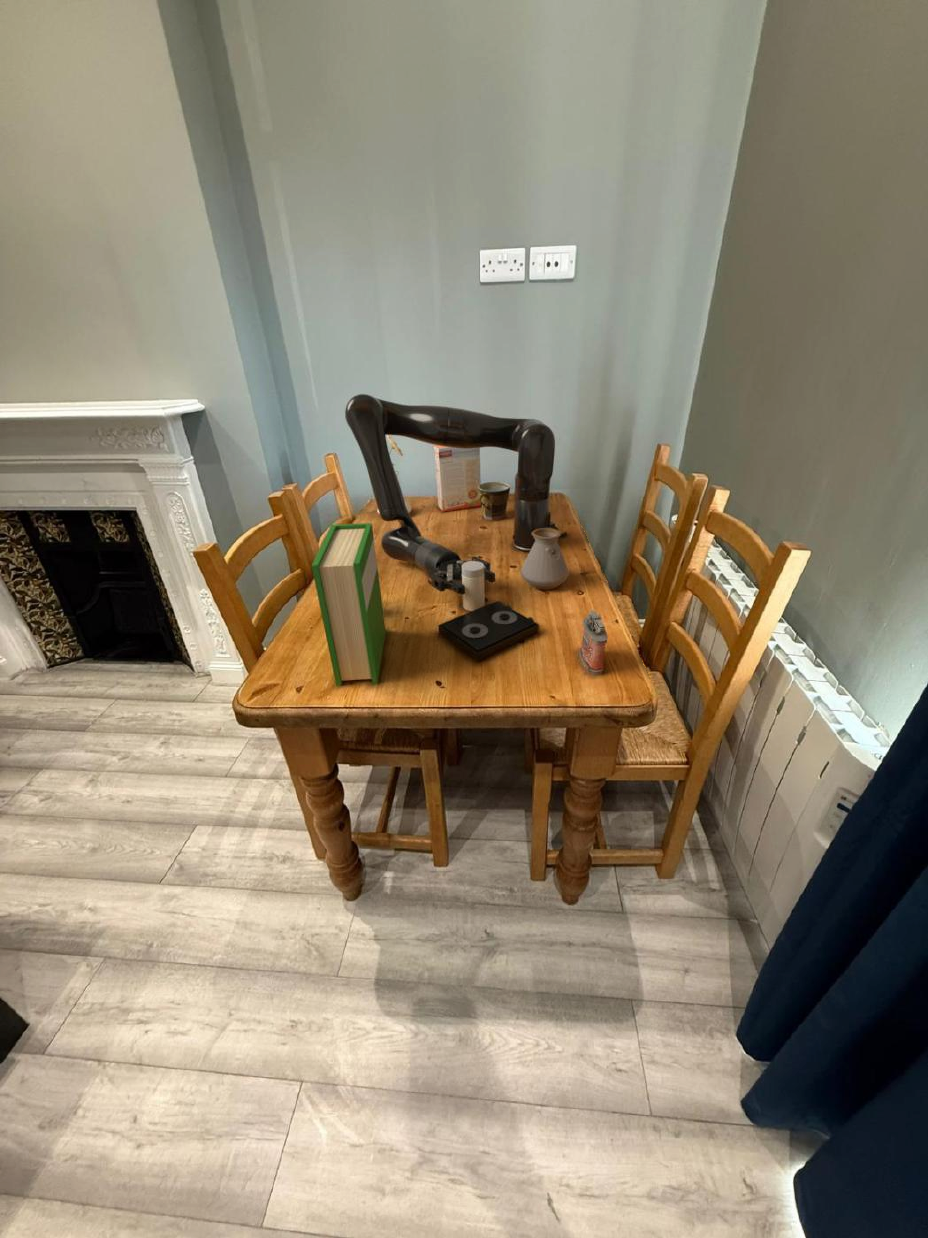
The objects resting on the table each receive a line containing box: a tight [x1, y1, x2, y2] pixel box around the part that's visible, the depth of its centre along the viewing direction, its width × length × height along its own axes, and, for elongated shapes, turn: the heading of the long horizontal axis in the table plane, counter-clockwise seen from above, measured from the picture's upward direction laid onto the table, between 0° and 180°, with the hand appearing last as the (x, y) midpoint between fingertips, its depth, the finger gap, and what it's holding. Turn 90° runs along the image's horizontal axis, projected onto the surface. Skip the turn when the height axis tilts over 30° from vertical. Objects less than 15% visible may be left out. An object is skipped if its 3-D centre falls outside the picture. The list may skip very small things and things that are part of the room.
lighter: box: [579, 610, 608, 676], centre depth 92 cm, size 8×3×10 cm, turn 5°
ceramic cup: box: [478, 481, 511, 521], centre depth 159 cm, size 13×10×10 cm
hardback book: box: [311, 522, 387, 687], centre depth 92 cm, size 18×7×24 cm, turn 3°
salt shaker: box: [461, 560, 486, 612], centre depth 112 cm, size 5×5×10 cm
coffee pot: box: [520, 528, 570, 590], centre depth 115 cm, size 21×12×15 cm, turn 177°
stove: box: [437, 600, 539, 663], centre depth 104 cm, size 17×13×3 cm
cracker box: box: [433, 444, 482, 512], centre depth 167 cm, size 14×6×21 cm, turn 108°
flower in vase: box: [376, 435, 413, 515], centre depth 162 cm, size 13×11×25 cm
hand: (479, 584), depth 110 cm, fingers open, 8 cm apart
